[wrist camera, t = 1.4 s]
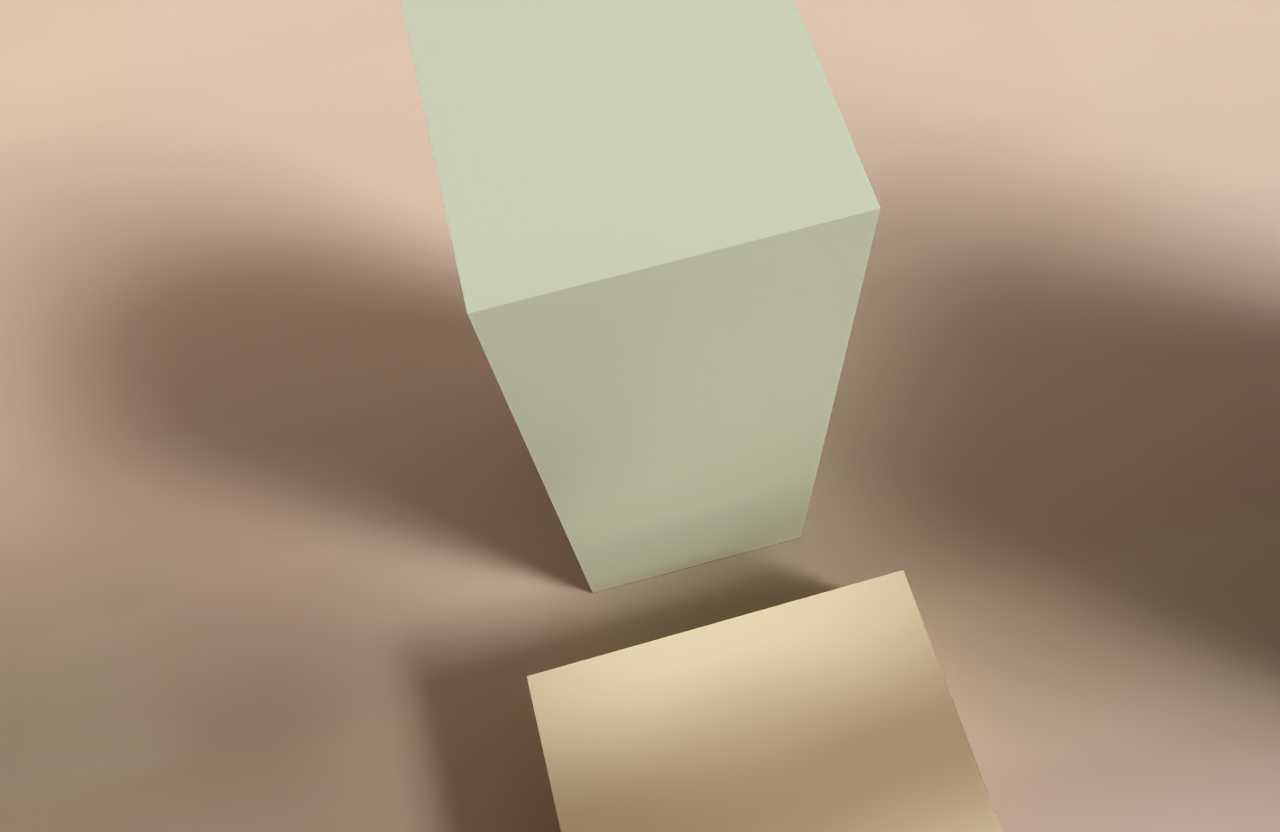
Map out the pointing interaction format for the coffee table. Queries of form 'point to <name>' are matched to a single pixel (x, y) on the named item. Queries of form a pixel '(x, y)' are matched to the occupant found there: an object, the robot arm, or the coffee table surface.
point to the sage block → (651, 257)
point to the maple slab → (766, 726)
